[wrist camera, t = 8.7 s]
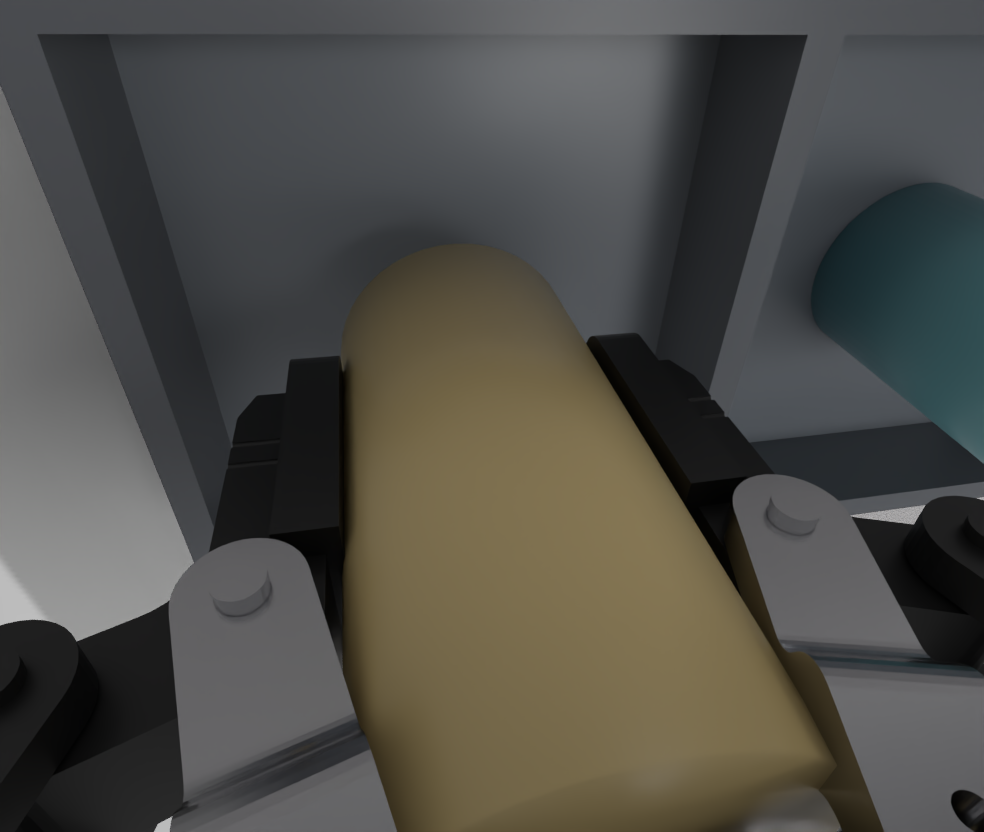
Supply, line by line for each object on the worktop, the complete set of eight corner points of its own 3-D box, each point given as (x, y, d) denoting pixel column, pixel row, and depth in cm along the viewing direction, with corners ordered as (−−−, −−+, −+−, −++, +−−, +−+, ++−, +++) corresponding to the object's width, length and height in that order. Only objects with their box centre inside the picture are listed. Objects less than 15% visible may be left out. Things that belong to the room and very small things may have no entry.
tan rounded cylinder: (576, 237, 10) (949, 703, 4) (556, 429, 13) (769, 908, 6) (325, 250, 10) (300, 835, 3) (355, 451, 12) (371, 1008, 6)
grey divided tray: (1203, -18, 13) (1430, -7, 10) (954, 411, 20) (1052, 487, 17) (65, -39, 10) (-46, -30, 7) (232, 491, 16) (210, 602, 14)
